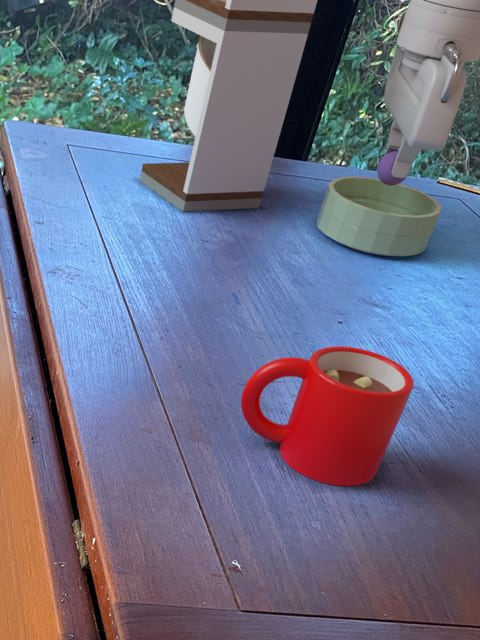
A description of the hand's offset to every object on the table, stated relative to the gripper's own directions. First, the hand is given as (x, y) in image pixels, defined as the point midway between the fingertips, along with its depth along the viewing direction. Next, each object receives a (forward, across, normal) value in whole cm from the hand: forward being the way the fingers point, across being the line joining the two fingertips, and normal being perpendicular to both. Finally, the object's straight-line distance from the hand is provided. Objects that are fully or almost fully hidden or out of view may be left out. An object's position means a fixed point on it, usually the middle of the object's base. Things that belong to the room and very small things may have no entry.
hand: (394, 169), depth 116 cm
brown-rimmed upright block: (+8, +6, +21) cm, 23 cm away
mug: (+8, -55, +13) cm, 57 cm away
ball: (0, 0, 0) cm, 0 cm away
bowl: (+8, 0, 0) cm, 8 cm away
